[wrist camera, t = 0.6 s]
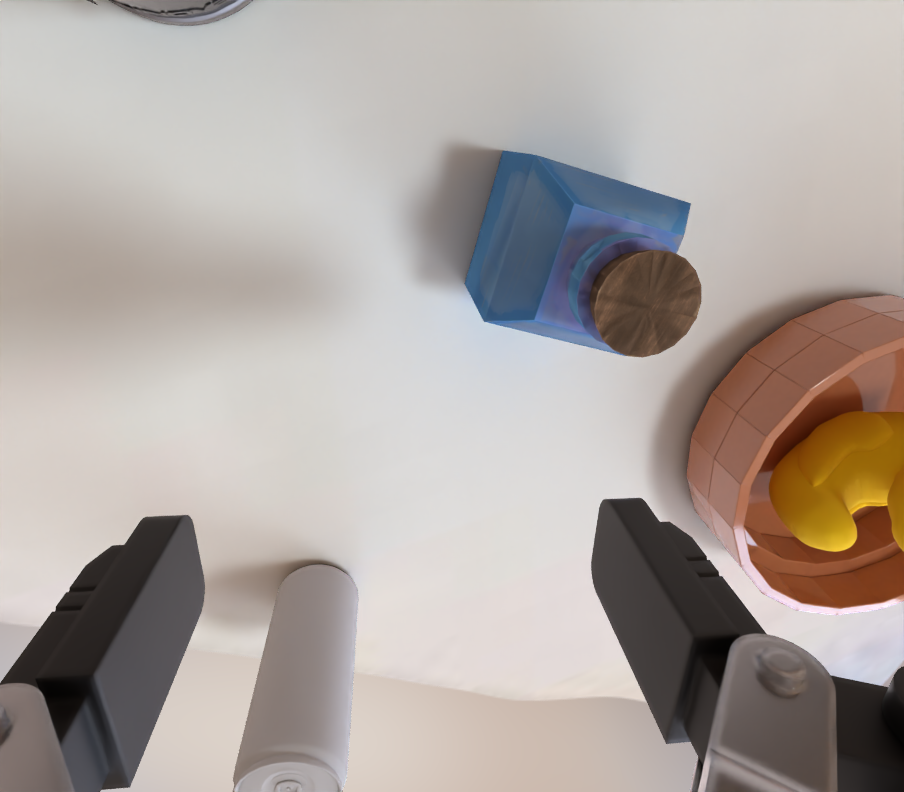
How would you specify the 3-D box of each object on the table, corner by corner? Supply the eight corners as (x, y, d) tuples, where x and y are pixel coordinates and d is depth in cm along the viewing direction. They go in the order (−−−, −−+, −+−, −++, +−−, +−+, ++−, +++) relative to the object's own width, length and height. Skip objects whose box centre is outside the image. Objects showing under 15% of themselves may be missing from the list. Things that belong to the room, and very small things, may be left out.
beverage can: (362, 560, 34) (349, 759, 23) (356, 620, 36) (342, 829, 25) (279, 557, 33) (227, 760, 22) (278, 618, 35) (229, 832, 24)
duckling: (921, 354, 31) (1137, 443, 22) (933, 427, 34) (1133, 535, 25) (730, 447, 33) (861, 567, 24) (753, 512, 35) (881, 643, 26)
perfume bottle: (503, 150, 25) (588, 161, 14) (626, 189, 26) (791, 226, 16) (464, 283, 28) (513, 379, 17) (580, 313, 29) (695, 420, 18)
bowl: (702, 309, 29) (765, 345, 24) (1008, 279, 31) (1129, 307, 26) (670, 565, 37) (714, 632, 32) (918, 533, 38) (998, 593, 33)
